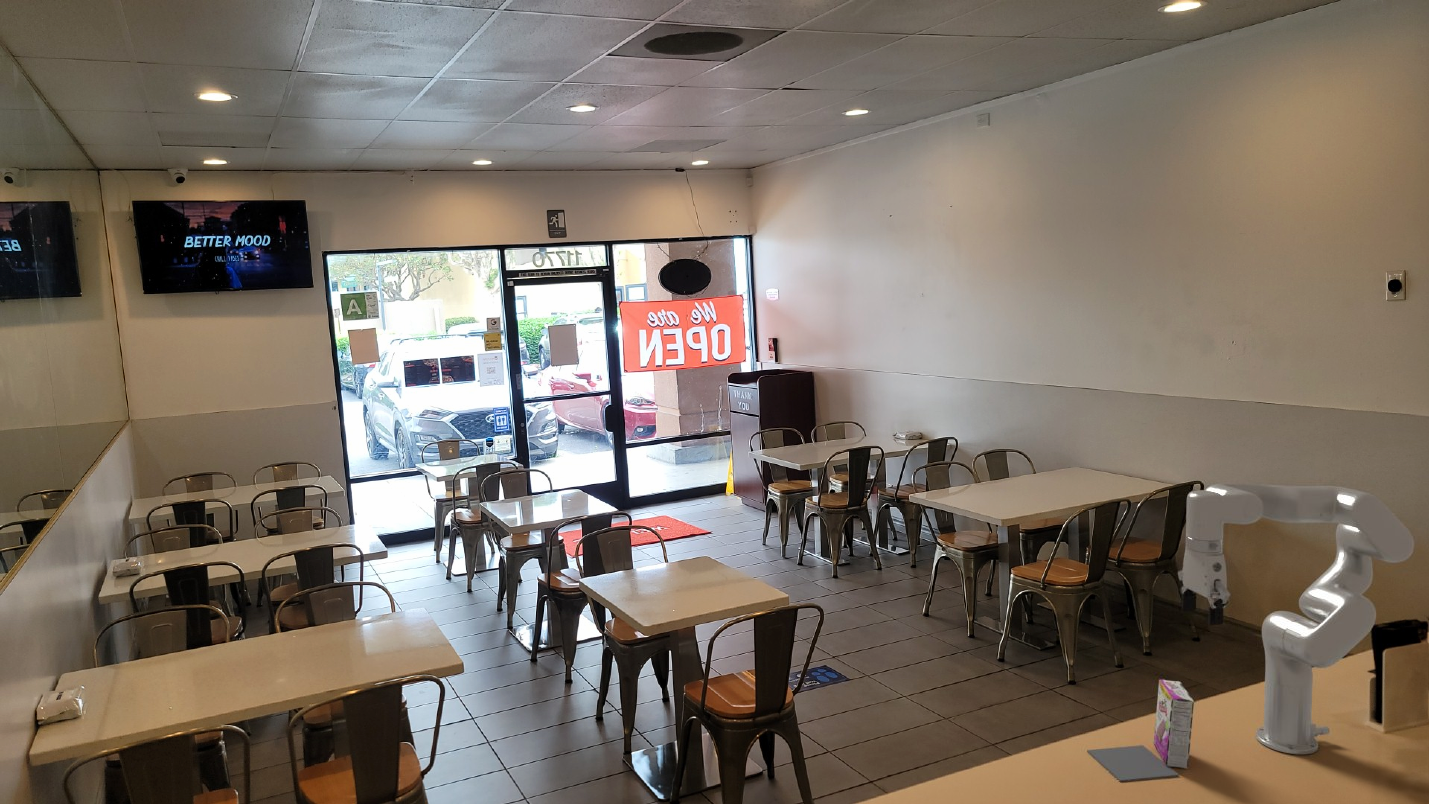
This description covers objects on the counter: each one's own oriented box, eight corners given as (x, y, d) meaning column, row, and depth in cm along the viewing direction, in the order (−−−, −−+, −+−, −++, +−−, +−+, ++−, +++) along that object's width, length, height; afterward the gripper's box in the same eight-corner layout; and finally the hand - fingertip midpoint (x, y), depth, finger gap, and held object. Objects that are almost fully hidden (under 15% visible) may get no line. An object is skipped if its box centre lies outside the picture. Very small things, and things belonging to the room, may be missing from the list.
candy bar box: (1151, 744, 218) (1158, 678, 216) (1174, 747, 217) (1180, 681, 215) (1164, 767, 207) (1171, 697, 206) (1188, 770, 206) (1195, 700, 205)
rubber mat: (1142, 746, 218) (1142, 745, 218) (1178, 776, 204) (1178, 774, 204) (1087, 751, 216) (1087, 750, 216) (1119, 781, 202) (1119, 780, 202)
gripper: (1244, 553, 201) (1242, 629, 203) (1195, 534, 218) (1193, 604, 220) (1212, 555, 200) (1210, 631, 202) (1166, 536, 217) (1164, 606, 219)
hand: (1201, 617), depth 211 cm, fingers open, 9 cm apart
